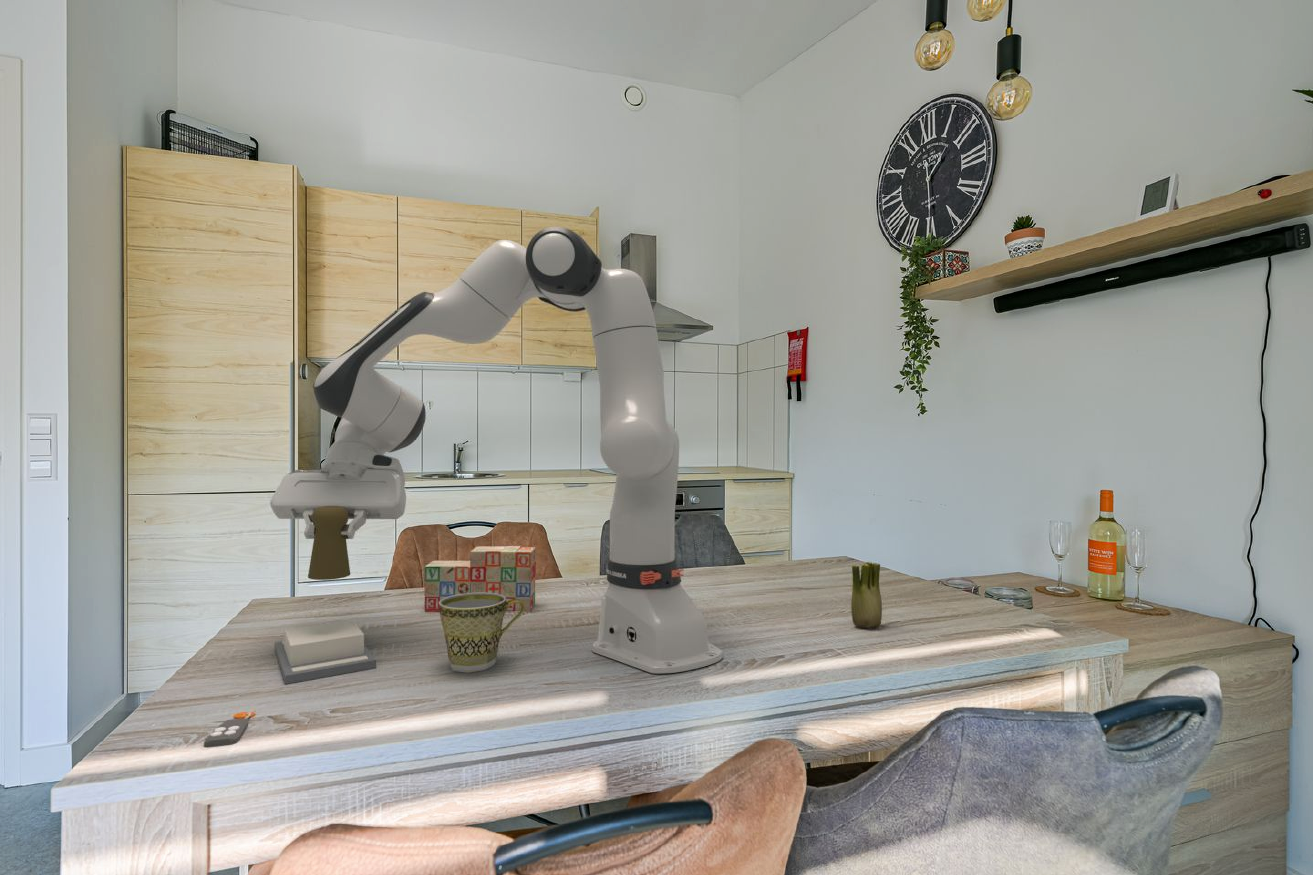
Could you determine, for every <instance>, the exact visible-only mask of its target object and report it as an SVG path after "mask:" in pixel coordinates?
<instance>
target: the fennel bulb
mask: <svg viewBox="0 0 1313 875" xmlns="http://www.w3.org/2000/svg"><path fill="white" fill-rule="evenodd" d="M880 569H881V564H880V563H878V562H877V563H876V562H873V563H872V562H871V561H866V563H862V564H861V568H860V565H858V564H852V565H851V570H852V571H851V572H852V575H851V576H852V586H851V587H852V588H851V590H852V591H851V600H850V601H851V602H850V612H851V613H850V614H851V618H852V622H853V623H852V624H853V625H854V626H856V627H860V628H862V629H872V630H873V629H878V628H879V627H880V626H881V625H882V617H883V616H882V615H883V613H882V612H883V601H882V596H881V591H880V590H881V588H880V572H881V571H880Z"/></svg>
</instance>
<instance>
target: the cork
mask: <svg viewBox="0 0 1313 875" xmlns="http://www.w3.org/2000/svg"><path fill="white" fill-rule="evenodd" d="M348 517H349V515H348V511H347V510H346V508H344V507H340V506H323V507H319V508H317V509H315V510H314V512H313V514H312V522H313V523H312V524H313V525H314V526H315V527H316V530H315V536H314V539H313V544H312V549H311V550H312V551H311V555H310V560H309V567H308V574H307V578H308V579H310V580H316V581H317V580H318V581H326V580H337V579H338V580H339V579H343V578H346V577H349V576H351V567H350V560H349V553H348V545H347V539H344V538H343V537H342V536H341V530H342V529H343V528H342V527H343V526H344V525H345V524H348V521H349V519H348Z"/></svg>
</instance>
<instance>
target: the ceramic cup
mask: <svg viewBox="0 0 1313 875" xmlns="http://www.w3.org/2000/svg"><path fill="white" fill-rule="evenodd" d="M514 603H520V604H521V607H522V609H521V611H520V612H518V614H516V616H514V618H512V619H510V621H509V622H508V624H506V626H505V627H504V628H503V622H504V616H505V615H506V613H507V612H506V611H507V609H508V607H509V606H511V605H512V604H514ZM523 611H524V605H523V603H522V601H521V600H519V599H512V600H509V601H507V602H506V597H505V596H503V595H500V594H496V593H485V592H477V593H464V594H457V595H453V596H449V597H446V598H444V599H442V600H440V601H439V611H438V612H439V615H440V616H439V617H440V621H441V625H442V630H443V633H444V640H445V645H446V650H447V656H448V663H449V666H451V667H450V668H451V670H452V671H453V672H459V673H467V674H469V673H475V672H481V671H487V670H488V669H490V668H491V667H493V666H495V664H496V663H497V658H498V657H497V655H498V650H499V644H500V640H501V638H502V636H503V634H504V633H505V632H506V631H507V630H508V629H509V628H510V627H511V625H512V624H513V623H515V622H516V621H517V620H518V619H519V618H520V617H521V616H522V615H523V613H524V612H523Z"/></svg>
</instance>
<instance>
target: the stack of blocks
mask: <svg viewBox="0 0 1313 875" xmlns="http://www.w3.org/2000/svg"><path fill="white" fill-rule="evenodd" d="M536 552H537V547H535V546H520V545H517V546H516V545H507V546H502V545H501V546H475V547H474V548H473V549H472V550H470V552H469V555H470V556H469V558H470V559H469V560H433V561H431V562H429V563H428V564H426V565H425V566H424V574H423V575H424V579H423V580H424V596H423V597H424V607H423V608H424V612H426V611H427V612H440V611H439V601H440V600H442V599H444V598H446V597H449V596H453V595H457V594H464V593H477V592H485V593H496V594H500V595H503V596H505V597H506V602H507V601H509V600H512V599H519V600H521V601H522V603H523V605H524V611H523V613H531V612H530V611H532V610H533V608H534V606H536V575H537V573H536V569H537V566H536V565H537V561H536V558H537V557H536ZM521 609H522V607H521V604H520V603H514V604H512V605H511V606H509V607H508V609H507V611H518V612H517V613H520V612H519V611H521Z"/></svg>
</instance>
